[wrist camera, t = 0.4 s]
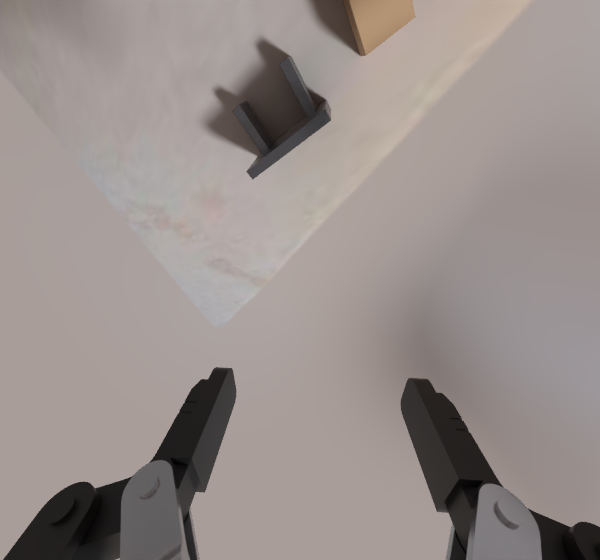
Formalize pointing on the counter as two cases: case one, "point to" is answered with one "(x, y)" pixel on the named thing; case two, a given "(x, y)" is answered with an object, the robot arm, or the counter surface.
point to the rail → (377, 20)
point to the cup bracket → (292, 137)
